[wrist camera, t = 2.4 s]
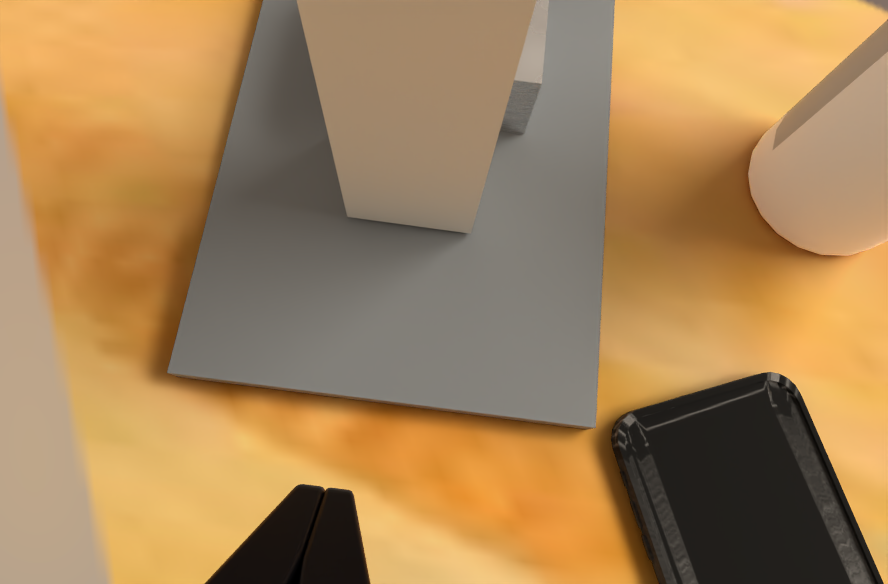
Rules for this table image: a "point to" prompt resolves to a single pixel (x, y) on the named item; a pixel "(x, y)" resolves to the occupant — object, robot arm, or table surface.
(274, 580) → the robot arm
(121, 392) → the table surface
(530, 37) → the friction collar
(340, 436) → the table surface
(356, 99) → the tall rectangular pillar
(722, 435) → the phone
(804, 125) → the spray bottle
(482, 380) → the base board
